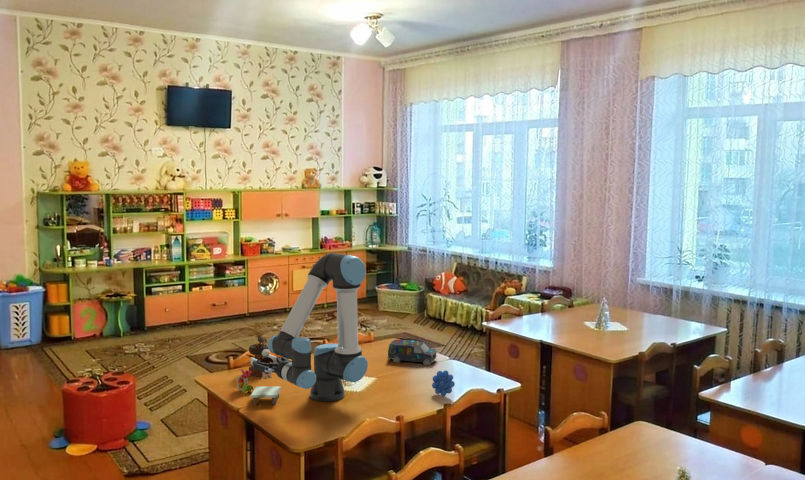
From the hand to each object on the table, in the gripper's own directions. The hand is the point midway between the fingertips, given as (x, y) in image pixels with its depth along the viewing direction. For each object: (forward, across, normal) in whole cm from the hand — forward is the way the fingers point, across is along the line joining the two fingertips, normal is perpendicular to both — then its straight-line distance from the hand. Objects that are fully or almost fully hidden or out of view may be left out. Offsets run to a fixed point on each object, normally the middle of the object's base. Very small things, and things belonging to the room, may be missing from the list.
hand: (259, 358), depth 288 cm
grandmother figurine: (-5, 0, -8) cm, 9 cm away
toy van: (-4, +88, -18) cm, 90 cm away
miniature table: (-5, 0, -18) cm, 18 cm away
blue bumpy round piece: (-51, +64, -18) cm, 83 cm away
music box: (+30, +16, -18) cm, 39 cm away
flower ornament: (+11, -2, -18) cm, 21 cm away
